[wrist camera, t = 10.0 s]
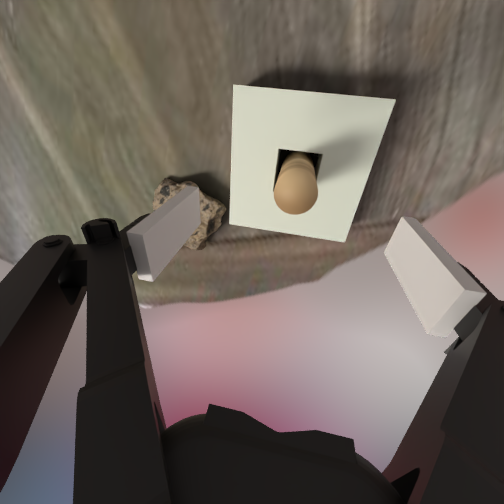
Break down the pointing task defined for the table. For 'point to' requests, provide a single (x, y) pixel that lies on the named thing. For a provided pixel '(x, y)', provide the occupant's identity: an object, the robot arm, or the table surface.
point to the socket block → (307, 140)
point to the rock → (208, 211)
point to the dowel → (296, 184)
